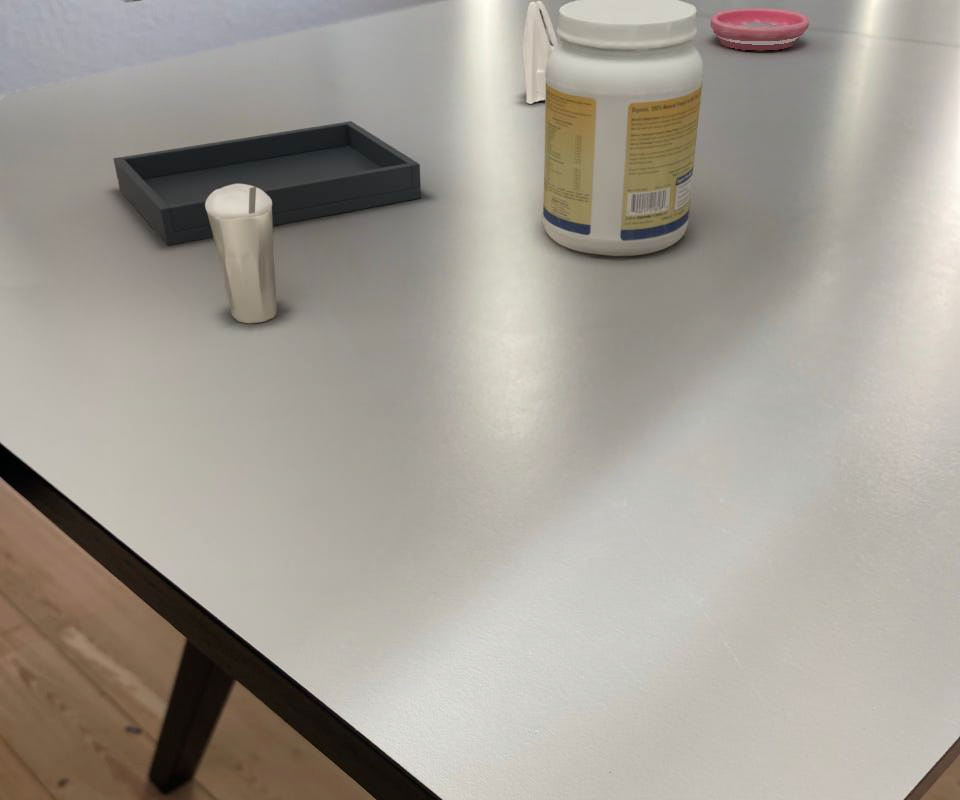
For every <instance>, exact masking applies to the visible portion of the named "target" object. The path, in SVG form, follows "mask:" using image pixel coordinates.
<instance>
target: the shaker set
mask: <svg viewBox="0 0 960 800" xmlns="http://www.w3.org/2000/svg"><path fill="white" fill-rule="evenodd" d="M525 17H526V18H525V22H524V30H523V38H522V39H523V40H522V59H523V69H524V80H525V89H526V100H525V101H526V104H529V105H530V104H531V105H532V104H534V103H535V102H536V103H537V102H539V101H545V88H546V77H545V72H546V65H547V61H548V58H549V56H550V54H551V53H552V51H553V50H554V49H555V48H556V47H557V46H558V45H559V43H558V39H557V36H556V33H555V30H554V26H553V23H552V21H551V17H550V14H549V12H548V10H547V8H546V6H545V4H544V2H543V1H541V0H537V1H536V2H535V1H530V2H529V3H528V7H527V12H526V16H525ZM537 92H538V93H537Z"/></svg>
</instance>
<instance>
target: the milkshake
mask: <svg viewBox="0 0 960 800" xmlns="http://www.w3.org/2000/svg"><path fill="white" fill-rule="evenodd" d="M205 208H206V211H207V215H208V218H209V222H210V226H211V230H212V234H213V237H212V238H213V240H214V244H215V248H216V253H217V257H218V262H219V266H220V270H221V274H222V278H223V282H224V283H223V284H224V287H225V292H226V295H227V300H228V305H229V308H230V312H231V317H233V318H234V319H235V320H236V322H239V323H245V324H257V323H265V322H267V321H270V320H273V319H274V318H275V317H276V314H277V313H278V300H277V299H278V298H277V284H276V282H277V281H276V267H275V266H276V265H275V250H274V249H275V248H274V226H273V218H272V200H271V198H270V197H269V196H268V195H267V194H266V193H265V192H264V191H262V190H261V189H259V188H257V187H254V186H251V185H246V184H232V185H228V186H225V187H222V188H221V189H217V190H215V191H213V192H212V193H211V194H210V195H209V197H208V198H207V200H206V202H205Z"/></svg>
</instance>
